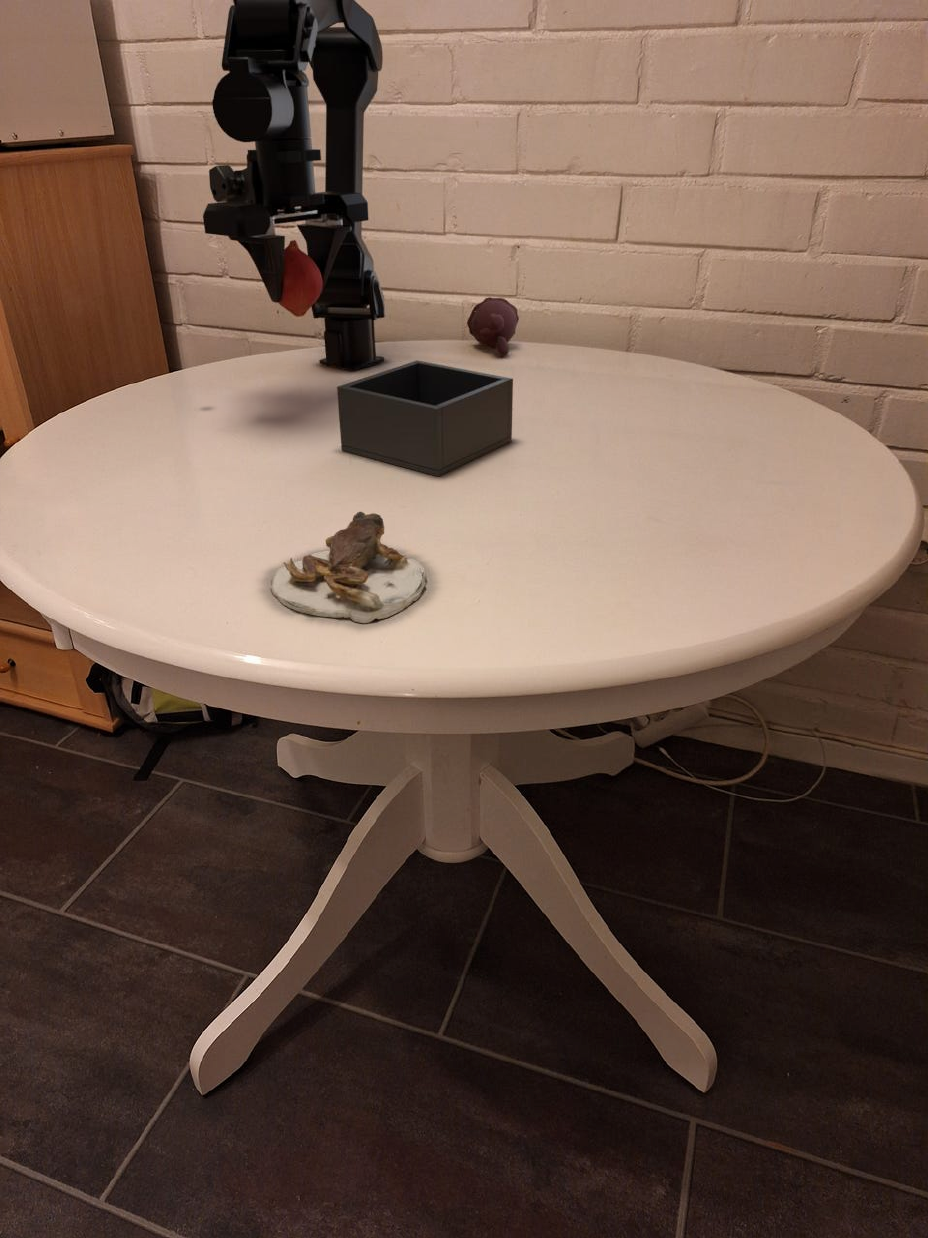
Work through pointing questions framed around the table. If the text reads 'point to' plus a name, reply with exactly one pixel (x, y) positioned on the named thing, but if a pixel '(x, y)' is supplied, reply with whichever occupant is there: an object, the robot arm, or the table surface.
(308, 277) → the onion
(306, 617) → the table surface
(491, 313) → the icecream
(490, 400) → the bin
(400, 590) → the frog figurine
